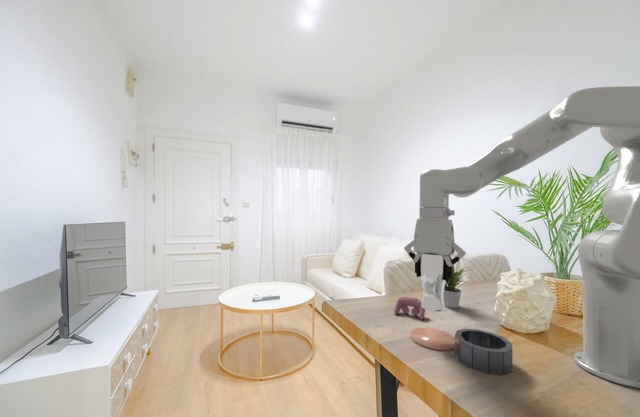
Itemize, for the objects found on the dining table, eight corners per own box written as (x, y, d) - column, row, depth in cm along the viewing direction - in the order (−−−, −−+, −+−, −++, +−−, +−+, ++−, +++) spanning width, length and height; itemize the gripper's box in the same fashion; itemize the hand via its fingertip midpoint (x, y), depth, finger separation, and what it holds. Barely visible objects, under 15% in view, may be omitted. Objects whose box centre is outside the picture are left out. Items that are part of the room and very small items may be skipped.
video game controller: (425, 322, 88) (427, 301, 91) (423, 320, 85) (425, 298, 88) (396, 315, 94) (398, 296, 96) (392, 313, 90) (395, 293, 93)
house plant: (483, 314, 92) (483, 267, 92) (444, 313, 92) (444, 266, 93) (462, 301, 106) (462, 260, 107) (428, 300, 106) (428, 259, 107)
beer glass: (449, 313, 69) (450, 255, 69) (421, 310, 70) (422, 254, 71) (442, 304, 76) (443, 252, 76) (417, 302, 77) (417, 251, 77)
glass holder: (512, 358, 64) (512, 337, 64) (512, 381, 54) (512, 357, 54) (459, 343, 70) (459, 325, 70) (451, 362, 61) (451, 341, 61)
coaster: (460, 337, 74) (460, 335, 74) (453, 355, 64) (453, 353, 64) (417, 326, 81) (417, 324, 81) (404, 341, 71) (404, 338, 71)
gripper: (470, 215, 71) (470, 280, 71) (406, 214, 82) (406, 271, 81) (467, 214, 65) (466, 286, 65) (398, 213, 76) (397, 275, 75)
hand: (433, 277), depth 73 cm, fingers closed on beer glass, 6 cm apart
